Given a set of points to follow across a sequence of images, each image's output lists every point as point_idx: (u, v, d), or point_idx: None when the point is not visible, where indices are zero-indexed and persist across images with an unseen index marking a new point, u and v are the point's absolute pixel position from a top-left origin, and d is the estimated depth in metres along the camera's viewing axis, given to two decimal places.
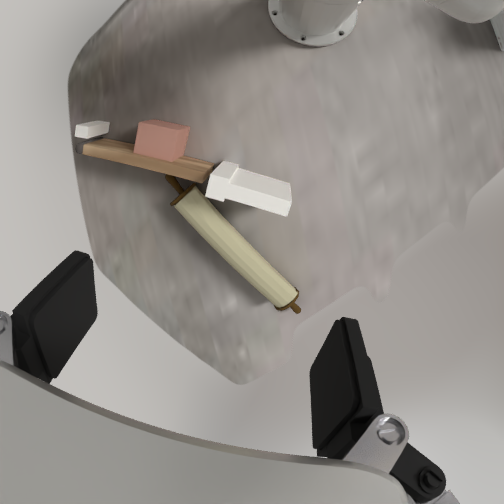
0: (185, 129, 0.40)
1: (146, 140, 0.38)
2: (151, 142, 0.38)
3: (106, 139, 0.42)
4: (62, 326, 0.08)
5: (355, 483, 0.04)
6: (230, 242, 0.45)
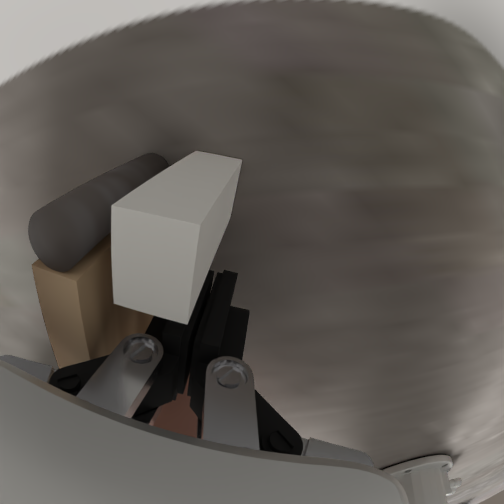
0: None
1: None
2: None
3: None
4: (194, 341, 0.10)
5: (355, 483, 0.04)
6: None
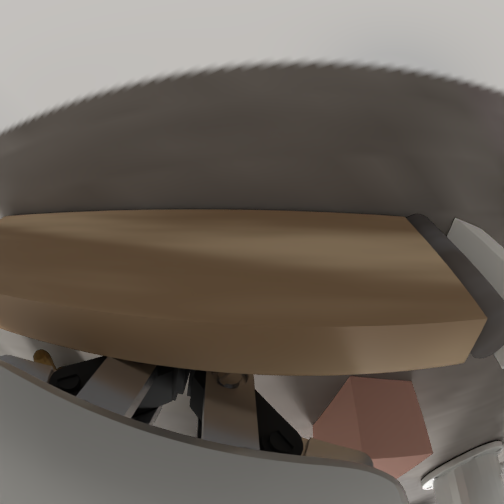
0: None
1: (382, 469, 0.12)
2: None
3: None
4: None
5: (355, 483, 0.04)
6: None
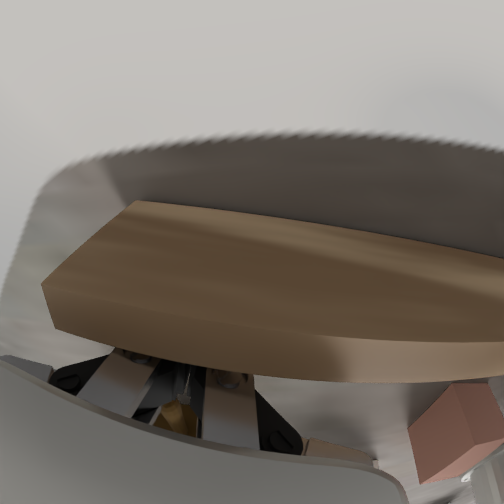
0: None
1: (477, 453, 0.12)
2: (469, 459, 0.13)
3: None
4: None
5: (355, 483, 0.04)
6: None
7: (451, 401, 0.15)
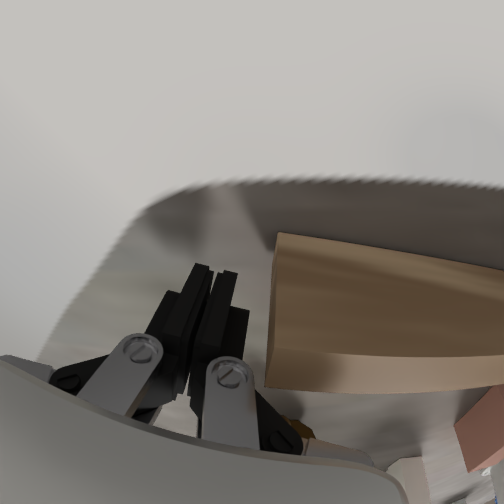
0: None
1: None
2: None
3: None
4: (194, 341, 0.10)
5: (355, 483, 0.04)
6: None
7: (495, 398, 0.16)
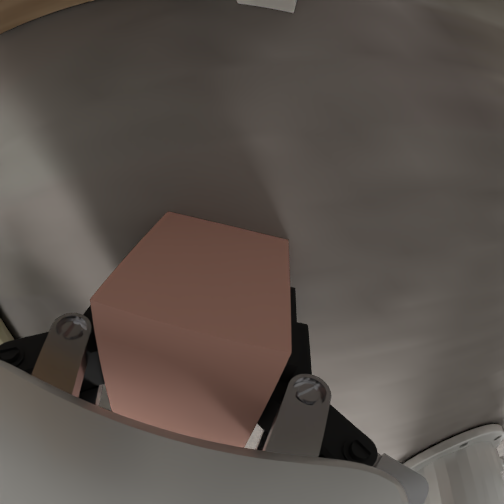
0: None
1: (176, 375, 0.07)
2: (171, 391, 0.07)
3: None
4: None
5: (355, 483, 0.04)
6: None
7: None
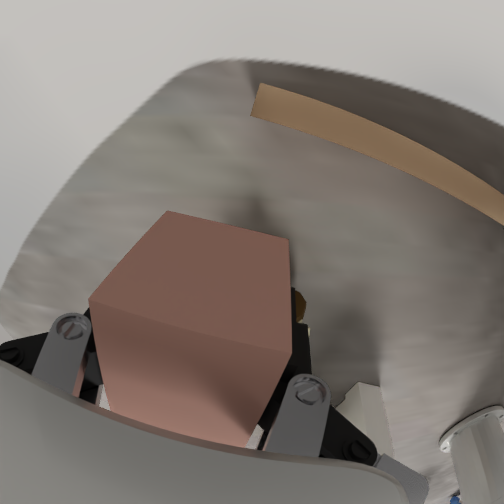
0: None
1: (176, 375, 0.07)
2: (170, 392, 0.07)
3: None
4: None
5: (355, 483, 0.04)
6: None
7: None
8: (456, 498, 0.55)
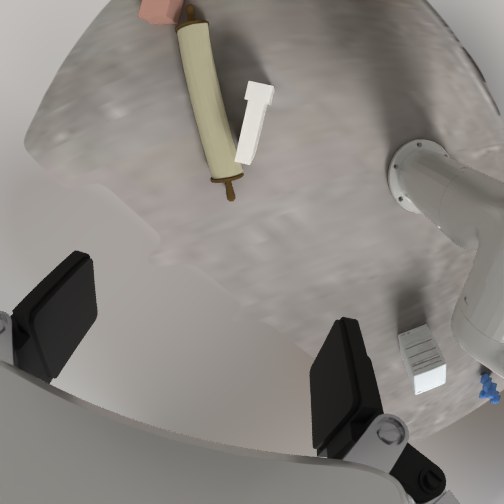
0: (172, 20, 0.34)
1: None
2: None
3: None
4: (62, 326, 0.08)
5: (355, 483, 0.04)
6: (208, 83, 0.36)
7: None
8: (487, 375, 0.63)
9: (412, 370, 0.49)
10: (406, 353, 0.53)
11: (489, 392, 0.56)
